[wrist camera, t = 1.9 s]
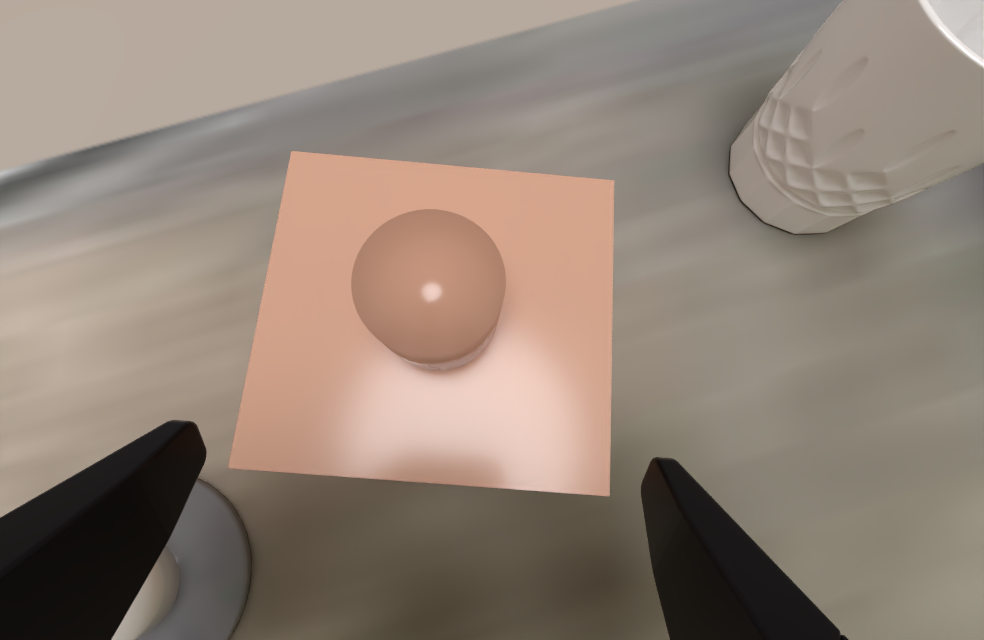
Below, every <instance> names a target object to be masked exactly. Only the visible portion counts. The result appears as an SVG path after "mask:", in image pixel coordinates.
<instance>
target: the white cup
mask: <svg viewBox="0 0 984 640" xmlns="http://www.w3.org/2000/svg"><path fill="white" fill-rule="evenodd" d="M982 164H984V0H843V1H842V2H841V3H840V4H839V5H838V7H837V8H836V9H835V10H834V12H833V13H832V14H831V15H830V16H829V18H828V19H827V20H826V21H825V22H824V24H823V25H822V26H821V27H820V28H819V30H818V31H817V32H816V33H815V35H814V36H813V37H812V39H811V40H810V42H809V43H808V45H807V46H806V47H805V48H804V50H803V51H802V52H801V53H800V54H799V56H798V57H797V58H796V59H795V60H794V62H793V63H792V64H791V65H790V67H789V68H788V69H787V71H786V72H785V74H784V75H783V76H782V77H781V79H780V80H779V81H778V82H777V83H776V85H775V86H774V87H773V88H772V90H771V91H770V92H769V94H768V95H767V97H766V100H765V102H764V103H763V104H762V105H761V107H760V108H759V109H758V110H757V111H756V113H755V114H754V115H753V116H752V117H751V118H750V120H749V121H748V122H747V123H746V125H745V126H744V128H743V129H742V131H741V132H740V134H739V135H738V137H737V138H736V140H735V141H734V143H733V144H732V146H731V153H730V176H731V179H732V181H733V183H734V185H735V188H736V190H737V192H738V195H739V197H740V199H741V201H742V202H743V203H744V204H745V205H746V206H747V207H748V208H750V209H751V210H752V211H753V212H754V213H755V214H756V215H757V216H758V217H759V218H760V219H761V220H762V221H763V222H765V223H767V224H770V225H773V226H775V227H778V228H780V229H783V230H786V231H788V232H791V233H793V234H806V233H826V232H828V231H830V230H833V229H835V228H837V227H839V226H841V225H843V224H845V223H847V222H849V221H851V220H853V219H855V218H857V217H859V216H861V215H864V214H866V213H868V212H871V211H873V210H875V209H877V208H880V207H884V206H887V205H892V204H894V203H895V202H898V201H900V200H903V199H905V198H908V197H910V196H912V195H915V194H917V193H919V192H921V191H923V190H926V189H928V188H930V187H932V186H933V185H936V184H938V183H941V182H943V181H946V180H948V179H951V178H953V177H956V176H958V175H960V174H962V173H965V172H967V171H969V170H971V169H973V168H975V167H977V166H980V165H982Z"/></svg>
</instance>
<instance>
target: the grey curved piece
mask: <svg viewBox="0 0 984 640" xmlns="http://www.w3.org/2000/svg"><path fill="white" fill-rule="evenodd" d="M166 547H167V548H168V549H169V550H170V551H171V552H172V554H173V555H174V557H175V559H176V562H177V564H178V568H179V576H180V581H179V589H178V594H177V597H176V600H175V602H174V604H173V606H172V608H171V610H170V611H169V613H168V614H167V616H166V617H165V618H164V619H163V620H162V622H161V623H159V624H158V625H157V626H156V627H155V628H153V629H152V630H151V631H149V632H148V633H146V634H145V635H143V636H141V637H140V638H138V639H137V640H229V639H230V637H231V636H232V634H233V632H234V630H235V628H236V626H237V624H238V622H239V620H240V617H241V615H242V612H243V610H244V607H245V604H246V600H247V596H248V592H249V586H250V579H251V555H250V546H249V542H248V538H247V534H246V531H245V529H244V526H243V524H242V521H241V519H240V517H239V516H238V514H237V512H236V510H235V509H234V508H233V506H232V505H231V504H230V502H229V501H228V500H227V499H226V498H225V497H224V496H223V495H222V494H221V493H220V492H219V491H218V490H216V489H215V488H213V487H212V486H211V485H209V484H208V483H206V482H204V481H202V480H200V479H198V478H197V480H196V483H195V485H194V487H193V489H192V491H191V494H190V496H189V498H188V500H187V502H186V505H185V507H184V509H183V511H182V513H181V516H180V518H179V520H178V522H177V524H176V526H175V529H174V531H173V533H172V535H171V537H170V539H169V540H168V542H167V544H166Z"/></svg>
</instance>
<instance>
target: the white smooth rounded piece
mask: <svg viewBox="0 0 984 640" xmlns="http://www.w3.org/2000/svg"><path fill="white" fill-rule="evenodd" d="M179 581H180V576H179V568H178V564H177V562H176V559H175V557H174V555H173V554H172V552H171V551H170V550H169V549H168V548H167V547H166V546H165V548H164V550H163V551H162V553H161V555H160V556H159V558H158V560H157V562H156V563H155V565H154V567H153V569H152V570H151V572H150V574H149V576H148V577H147V579H146V581H145V582H144V584H143V586H142V588H141V589H140V591H139V593H138V595H137V596H136V598H135V600H134V601H133V603H132V605H131V607H130V608H129V610H128V612H127V614H126V615H125V617H124V619H123V621H122V622H121V624H120V626H119V627H118V629H117V631H116V633H115V634H114V636H113V638H112V640H137V639H138V638H140V637H141V636H143V635H145V634H146V633H148V632H149V631H151V630H152V629H153V628H155V627H156V626H157V625H158V624H159V623H161V622H162V620H163V619H164V618H165V617H166V616H167V614H168V613H169V611H170V610H171V608H172V606H173V604H174V602H175V600H176V597H177V594H178V589H179Z"/></svg>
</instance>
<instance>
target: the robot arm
mask: <svg viewBox="0 0 984 640" xmlns="http://www.w3.org/2000/svg"><path fill="white" fill-rule="evenodd" d="M205 459H206V447H205V445H204V442H203V440H202V437H201V434H200V432H199V429H198V427H197V425H196V424H195V423H194V422H192V421H181V420H171V421H168V422H166V423H164V424H162V425H161V426H159V427H157V428H156V429H154V430H152V431H150V432H149V433H147V434H145V435H143V436H142V437H140V438H138V439H136V440H135V441H133V442H131V443H129V444H128V445H126V446H124V447H122V448H121V449H119V450H117V451H115V452H114V453H112V454H110V455H109V456H107V457H105V458H103V459H102V460H100V461H98V462H96V463H95V464H93V465H91V466H89V467H88V468H86V469H84V470H82V471H81V472H79V473H77V474H75V475H74V476H72V477H70V478H68V479H67V480H65V481H63V482H62V483H60V484H58V485H56V486H55V487H53V488H51V489H49V490H48V491H46V492H44V493H42V494H41V495H39V496H37V497H35V498H34V499H32V500H30V501H28V502H27V503H25V504H23V505H21V506H20V507H18V508H16V509H14V510H13V511H11V512H9V513H8V514H6V515H4V516H2V517H1V518H0V640H112V638H113V636H114V634H115V633H116V631H117V629H118V627H119V626H120V624H121V622H122V621H123V619H124V617H125V615H126V614H127V612H128V610H129V608H130V607H131V605H132V603H133V601H134V600H135V598H136V596H137V595H138V593H139V591H140V589H141V588H142V586H143V584H144V582H145V581H146V579H147V577H148V576H149V574H150V572H151V570H152V569H153V567H154V565H155V563H156V562H157V560H158V558H159V556H160V555H161V553H162V551H163V550H164V548H165V546H166V544H167V542H168V540H169V539H170V537H171V535H172V533H173V531H174V529H175V526H176V524H177V522H178V520H179V518H180V516H181V513H182V511H183V509H184V507H185V505H186V502H187V500H188V498H189V496H190V494H191V491H192V489H193V487H194V485H195V483H196V480H197V478H198V476H199V474H200V472H201V469H202V467H203V465H204V463H205ZM641 497H642V504H643V511H644V517H645V524H646V531H647V537H648V544H649V551H650V558H651V564H652V569H653V574H654V579H655V583H656V587H657V591H658V595H659V599H660V603H661V606H662V610H663V614H664V618H665V622H666V626H667V630H668V633H669V637H670V640H848V639H847V637H846V636H844V635H840V631H839V629H838V628H837V627H836V626H835V625H834V624H833V623H832V622H831V621H830V620H829V619H828V618H827V617H826V616H825V615H824V614H823V613H822V612H821V611H820V610H819V609H818V607H817V606H816V605H815V604H814V603H813V602H812V601H811V600H810V599H809V598H808V597H807V596H806V595H805V594H804V593H803V592H802V591H801V590H800V589H799V588H798V587H797V586H796V585H795V584H794V582H793V581H792V580H791V579H790V578H789V577H788V576H787V575H786V574H785V573H784V572H783V571H782V570H781V569H780V568H779V567H778V566H777V565H776V564H775V563H774V562H773V561H772V560H771V559H770V557H769V556H768V555H767V554H766V553H765V552H764V551H763V550H762V549H761V548H760V547H759V546H758V545H757V544H756V543H755V542H754V541H753V540H752V539H751V538H750V537H749V536H748V535H747V533H746V532H745V531H744V530H743V529H742V528H741V527H740V526H739V525H738V524H737V523H736V522H735V521H734V520H733V519H732V518H731V517H730V516H729V515H728V514H727V513H726V512H725V511H724V510H723V508H722V507H721V506H720V505H719V504H718V503H717V502H716V501H715V500H714V499H713V498H712V497H711V496H710V495H709V494H708V493H707V492H706V491H705V490H704V489H703V488H702V487H701V486H700V485H699V483H698V482H697V481H696V480H695V479H694V478H693V477H692V476H691V475H690V474H689V473H688V472H687V471H686V470H685V469H684V468H683V467H682V466H681V465H680V464H679V463H678V462H677V461H676V460H674V459H671V458H660V457H655V458H653V459H652V460H651V462H650V464H649V467H648V469H647V472H646V474H645V476H644V479H643V481H642V485H641Z"/></svg>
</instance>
